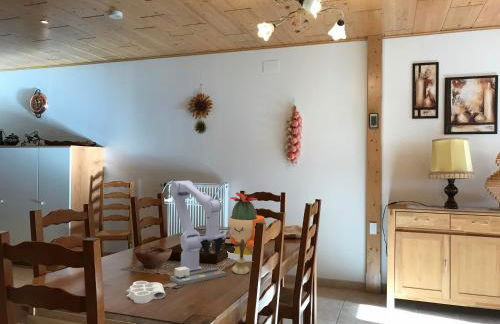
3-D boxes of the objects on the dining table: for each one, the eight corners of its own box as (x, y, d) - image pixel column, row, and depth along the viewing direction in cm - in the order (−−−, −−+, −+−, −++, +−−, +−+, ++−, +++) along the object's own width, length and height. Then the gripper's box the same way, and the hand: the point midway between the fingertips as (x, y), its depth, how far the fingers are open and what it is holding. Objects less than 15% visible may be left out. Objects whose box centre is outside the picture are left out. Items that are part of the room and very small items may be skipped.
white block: (174, 274, 183) (174, 268, 183) (184, 273, 186) (184, 266, 186) (182, 278, 178) (182, 271, 178) (192, 276, 181) (192, 270, 181)
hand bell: (250, 274, 194) (252, 243, 190) (232, 274, 193) (234, 243, 189) (248, 265, 202) (250, 235, 198) (231, 265, 201) (233, 235, 197)
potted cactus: (243, 263, 213) (244, 196, 212) (218, 254, 230) (219, 192, 229) (273, 257, 227) (275, 194, 226) (248, 249, 244) (249, 190, 243)
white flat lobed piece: (166, 301, 158) (126, 305, 153) (161, 287, 175) (125, 290, 170) (166, 293, 157) (126, 296, 153) (161, 279, 175) (125, 282, 170)
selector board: (170, 279, 183) (170, 275, 183) (215, 271, 198) (215, 266, 198) (179, 285, 176) (179, 280, 176) (225, 275, 191) (225, 271, 191)
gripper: (203, 229, 183) (203, 259, 184) (230, 225, 192) (229, 254, 193) (195, 226, 189) (194, 255, 189) (221, 223, 198) (221, 251, 198)
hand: (211, 255), depth 191 cm, fingers open, 5 cm apart
